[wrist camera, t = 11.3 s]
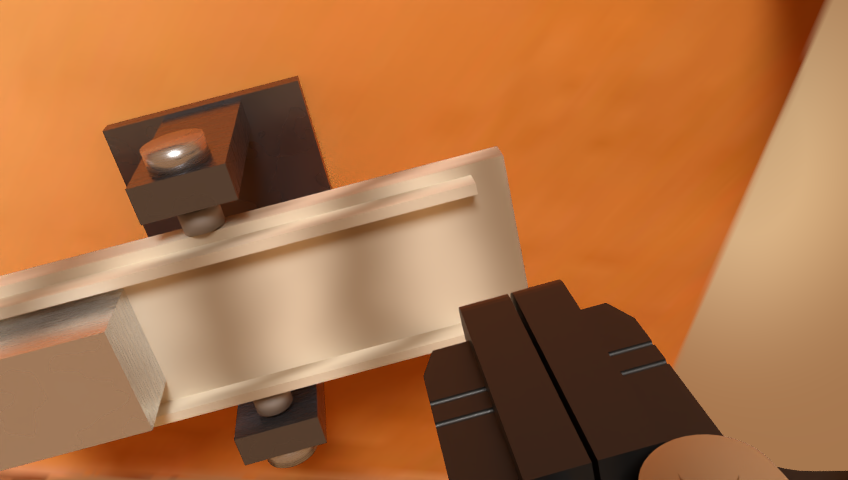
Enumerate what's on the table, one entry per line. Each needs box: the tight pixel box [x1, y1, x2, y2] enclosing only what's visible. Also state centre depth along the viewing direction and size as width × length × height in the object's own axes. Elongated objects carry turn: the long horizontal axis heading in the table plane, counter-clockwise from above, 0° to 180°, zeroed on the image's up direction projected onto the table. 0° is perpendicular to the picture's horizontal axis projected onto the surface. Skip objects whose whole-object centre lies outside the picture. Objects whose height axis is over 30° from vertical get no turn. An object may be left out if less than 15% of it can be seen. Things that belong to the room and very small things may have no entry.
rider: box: [0, 289, 166, 471], centre depth 33 cm, size 7×5×4 cm
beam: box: [0, 146, 528, 427], centre depth 35 cm, size 26×11×3 cm, turn 103°
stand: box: [103, 76, 332, 468], centre depth 38 cm, size 10×17×10 cm, turn 13°
